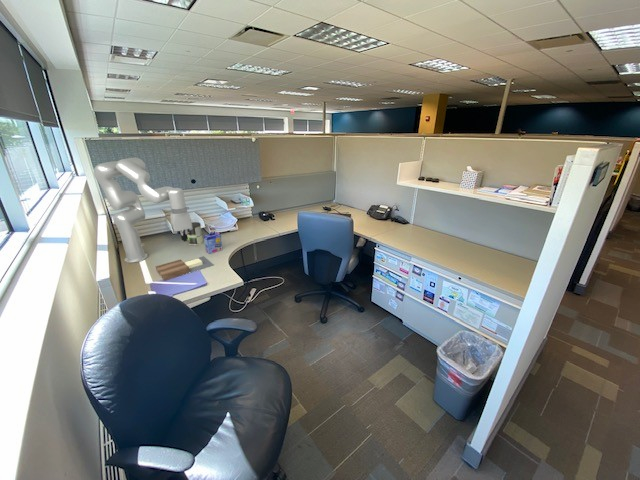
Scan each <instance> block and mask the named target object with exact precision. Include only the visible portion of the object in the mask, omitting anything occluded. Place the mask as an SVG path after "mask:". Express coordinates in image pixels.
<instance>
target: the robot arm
mask: <svg viewBox="0 0 640 480" xmlns="http://www.w3.org/2000/svg"><path fill="white" fill-rule="evenodd" d="M93 174H94V177H95V180H96V181H97V183H98V184H99V185H100V187H101V189H102V191H103V193H104V195H105V198H106V200H107V202H108V204H109V205H110V207H111V208H112V209H113V210H116V211H117V210H118V212H117V213H115V214H114V215H113V218H112V219H113V222H114V224H115V226H116V228H117V230H118V234H119V235H120V238H121V243H122V246H123V249H124V252H125V258H124V262H125V263H129V264H131V263H133V264H134V263H138V262H141V261H144V260H147V258H148V253H146V252H145V251H144V247H143V244H142V240H141V236H140V233H139V231H138V229H137V228H136V227H135V226H134V225H136V224H139V223H141V222H143V221H145V219H146V213H145V209H144V207H143V205H142V202H141V200H140V198H139V196H138V195H137V193H135V191H133V190H130V189H129V190H123V189H122V188H121V185H120V184H119V182H118V181H116V180H115V179H114V178H119V177H123V176H124V177H126V178H127V179H129V180H130V181H132V182H133V183H134V184H136V185H137V189H138V191H139V193H140V195H141V196H142V197H143V198H144V199H146V200H148V201H149V202H150V203H154V204H161V203H164V202H167V201H169V206H170V209H171V213H170V224H171V225H170V226H171V229H172V233H173V234H178V235H180V238H181V240H182V241H183V242H188V237H187V234H188V232H189V231H190V230H192V229H193V228H192V222H193V221H192V218H191V216H190V213H189V211H188V210H189V209H190V207H189V206H187V205H186V200H185V195H184V190H183V189H182V188H180V187H173V186H170V185H168V186H166V185H165V186H163V187H157V188H155V189H153V187H151V186H149V185H148V183H149V181H150V180H151V174H150V173H149V172H148V171H146V163H145V162H144V161H143V159H141V158H140V157H139V158H138V157H128V158H122V159H120V160H117V161H107V162H106V161H105V162H102V163H99V164H97V165H95V166H94V169H93ZM126 208H128V209H126ZM122 209H124V210H122ZM119 210H121V211H119Z"/></svg>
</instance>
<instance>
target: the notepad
mask: <svg viewBox="0 0 640 480" xmlns="http://www.w3.org/2000/svg"><path fill="white" fill-rule="evenodd" d="M197 258H198V259H196V258H193V259H194V260H193V259H190V260H191V261H189V260H187V261H188V262H186V261H183V262H184V263H185V264H186V265H187V266H188V267H189V269H190V268H193V267H196V266H199V265H202V264H203V263H202V261H201V260H200V259H199V257H197Z"/></svg>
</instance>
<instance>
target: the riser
mask: <svg viewBox="0 0 640 480" xmlns="http://www.w3.org/2000/svg"><path fill="white" fill-rule="evenodd" d="M184 262H185V261H183V260H182V259H177V260H173V261H170V262H167V263H163V264H160V265H156V266H155V270H156V273H158V275H159V276H160V277H161V279H162V281H164V282H165V281H168V280H171V278H172V279H175V278H178V277H181V276H184V275H186V273H187V274H190V273H189V272H190V269H189V267H188V266H187V265H186V264H185V263H184ZM183 274H184V275H183Z"/></svg>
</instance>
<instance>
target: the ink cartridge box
mask: <svg viewBox="0 0 640 480" xmlns="http://www.w3.org/2000/svg"><path fill="white" fill-rule="evenodd" d="M203 242H204V245H205V252H206V253H208V254H209V255H210V254H213V253H217V252H221V251H223V246H222V245H223V242H222V235H221V233H220V232H218V231H210V233H207V234H204V235H203Z"/></svg>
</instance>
